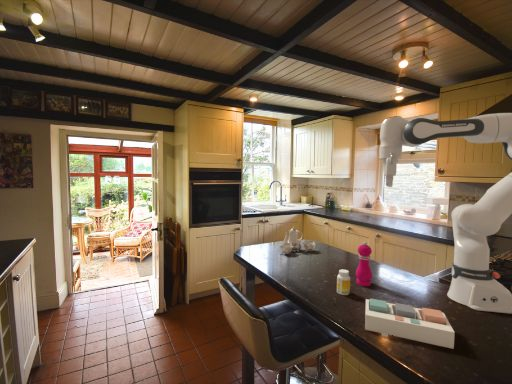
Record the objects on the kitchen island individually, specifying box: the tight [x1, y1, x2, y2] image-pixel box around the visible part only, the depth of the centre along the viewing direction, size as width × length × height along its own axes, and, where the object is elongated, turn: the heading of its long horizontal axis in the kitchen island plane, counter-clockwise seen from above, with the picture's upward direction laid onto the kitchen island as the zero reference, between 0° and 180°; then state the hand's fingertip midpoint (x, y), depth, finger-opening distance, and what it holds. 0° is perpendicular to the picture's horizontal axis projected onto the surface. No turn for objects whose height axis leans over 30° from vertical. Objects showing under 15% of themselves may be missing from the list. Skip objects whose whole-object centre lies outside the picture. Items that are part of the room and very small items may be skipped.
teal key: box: [369, 298, 388, 314], centre depth 91 cm, size 5×5×3 cm
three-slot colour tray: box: [364, 298, 456, 350], centre depth 87 cm, size 24×12×5 cm, turn 67°
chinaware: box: [277, 226, 317, 255], centre depth 175 cm, size 28×17×17 cm, turn 119°
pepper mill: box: [355, 241, 373, 287], centre depth 123 cm, size 7×7×20 cm
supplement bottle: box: [336, 269, 351, 296], centre depth 113 cm, size 5×5×10 cm
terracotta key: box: [421, 307, 445, 325], centre depth 84 cm, size 5×5×3 cm
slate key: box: [394, 302, 415, 319], centre depth 87 cm, size 5×5×3 cm
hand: (389, 186), depth 115 cm, fingers open, 8 cm apart
